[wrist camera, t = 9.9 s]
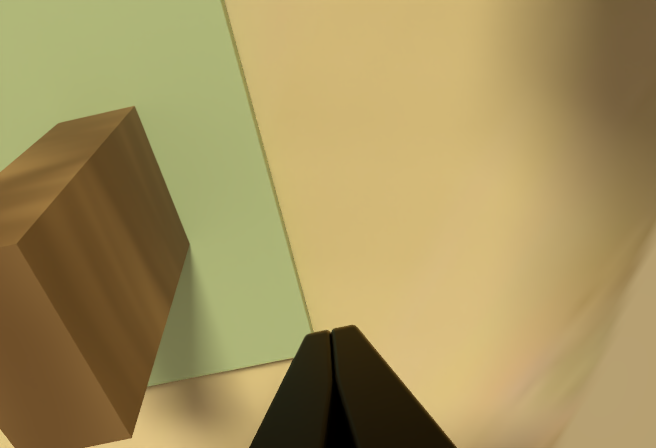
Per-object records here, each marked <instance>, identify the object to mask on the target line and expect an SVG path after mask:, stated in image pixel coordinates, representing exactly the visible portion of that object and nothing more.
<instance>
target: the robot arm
mask: <svg viewBox="0 0 656 448" xmlns="http://www.w3.org/2000/svg"><path fill="white" fill-rule="evenodd" d="M249 448H457V447H456V446H455V445H454V444H453V442H452V441H451V440H450V439H449V438H448V436H447V435H446V434H445V433H444V431H443V430H442V429H441V428H440V427H439V425H438V424H437V423H436V422H435V421H434V419H433V418H432V417H431V416H430V415H429V413H428V412H427V411H426V410H425V408H424V407H423V406H422V405H421V404H420V402H419V401H418V400H417V399H416V398H415V396H414V395H413V394H412V393H411V392H410V390H409V389H408V388H407V387H406V386H405V384H404V383H403V382H402V381H401V379H400V378H399V377H398V376H397V375H396V373H395V372H394V371H393V370H392V369H391V367H390V366H389V365H388V364H387V363H386V361H385V360H384V359H383V358H382V357H381V355H380V354H379V353H378V352H377V350H376V349H375V348H374V347H373V346H372V344H371V343H370V342H369V341H368V340H367V338H366V337H365V336H364V335H363V334H362V332H361V331H360V330H359V329H358V328H357V327H356V326H355V325H349V326H344V327H339V328H334V329H333V330H332V332H330V331H328V330H324V331H319V332H314V333H309V334H307V335H306V336H305V337H304V339H303V341H302V343H301V345H300V347H299V349H298V351H297V353H296V355H295V357H294V359H293V361H292V363H291V365H290V367H289V369H288V371H287V373H286V375H285V377H284V379H283V381H282V383H281V385H280V387H279V389H278V391H277V393H276V395H275V397H274V399H273V401H272V403H271V405H270V407H269V409H268V411H267V413H266V415H265V417H264V419H263V421H262V423H261V425H260V427H259V429H258V431H257V433H256V435H255V437H254V439H253V441H252V443H251V445H250V447H249Z"/></svg>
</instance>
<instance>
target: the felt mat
mask: <svg viewBox="0 0 656 448" xmlns="http://www.w3.org/2000/svg"><path fill="white" fill-rule="evenodd" d="M131 106H135V108H136V110H137V113H138V115H139V118H140V120H141V123H142V125H143V128H144V130H145V133H146V135H147V138H148V140H149V143H150V145H151V148H152V150H153V153H154V155H155V158H156V160H157V163H158V165H159V168H160V170H161V173H162V175H163V178H164V180H165V183H166V185H167V188H168V190H169V193H170V195H171V198H172V200H173V203H174V205H175V208H176V210H177V213H178V215H179V218H180V220H181V223H182V225H183V228H184V230H185V233H186V235H187V238H188V240H189V243H190V245H189V249H188V252H187V255H186V259H185V262H184V265H183V269H182V272H181V275H180V279H179V282H178V285H177V289H176V292H175V295H174V299H173V302H172V305H171V308H170V312H169V315H168V318H167V322H166V325H165V328H164V332H163V335H162V338H161V342H160V345H159V348H158V352H157V355H156V358H155V362H154V365H153V368H152V372H151V375H150V378H149V382H148V385H147V387H148V386H153V385H158V384H163V383H169V382H174V381H179V380H184V379H189V378H194V377H199V376H204V375H209V374H214V373H219V372H224V371H229V370H234V369H239V368H244V367H249V366H255V365H260V364H265V363H270V362H275V361H280V360H285V359H290V358H294V357H295V355H296V353H297V351H298V349H299V347H300V345H301V343H302V341H303V339H304V337H305V336H306V335H307V334H309V333H314V332H313V328H312V324H311V321H310V317H309V313H308V310H307V306H306V302H305V298H304V295H303V291H302V287H301V284H300V280H299V276H298V272H297V269H296V265H295V261H294V258H293V254H292V250H291V246H290V243H289V239H288V235H287V232H286V228H285V224H284V221H283V217H282V213H281V209H280V206H279V202H278V198H277V195H276V191H275V187H274V183H273V180H272V176H271V172H270V169H269V165H268V161H267V157H266V154H265V150H264V146H263V143H262V139H261V135H260V131H259V128H258V124H257V120H256V117H255V113H254V109H253V106H252V102H251V98H250V94H249V91H248V87H247V83H246V80H245V76H244V72H243V68H242V65H241V61H240V57H239V54H238V50H237V46H236V42H235V39H234V35H233V31H232V28H231V24H230V20H229V17H228V13H227V9H226V5H225V2H224V0H0V172H1V171H2V170H3V169H5V168H6V167H7V166H8V165H9V164H10V163H12V162H13V161H14V160H15V159H16V158H18V157H19V156H20V155H21V154H22V153H23V152H25V151H26V150H27V149H28V148H29V147H30V146H32V145H33V144H34V143H35V142H36V141H38V140H39V139H40V138H41V137H42V136H43V135H45V134H46V133H47V132H48V131H49V130H51V129H52V128H53V127H54V126H55V125H56V124H58V123H61V122H65V121H70V120H74V119H78V118H83V117H87V116H91V115H96V114H100V113H105V112H109V111H113V110H118V109H122V108H126V107H131Z"/></svg>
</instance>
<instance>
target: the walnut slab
mask: <svg viewBox="0 0 656 448" xmlns="http://www.w3.org/2000/svg"><path fill="white" fill-rule="evenodd" d="M189 245H190V243H189V240H188V238H187V235H186V233H185V230H184V228H183V225H182V223H181V220H180V218H179V215H178V213H177V210H176V208H175V205H174V203H173V200H172V198H171V195H170V193H169V190H168V188H167V185H166V183H165V180H164V178H163V175H162V173H161V170H160V168H159V165H158V163H157V160H156V158H155V155H154V153H153V150H152V148H151V145H150V143H149V140H148V138H147V135H146V133H145V130H144V128H143V125H142V123H141V120H140V118H139V115H138V113H137V110H136V108H135V106H131V107H126V108H122V109H118V110H113V111H109V112H105V113H100V114H96V115H91V116H87V117H83V118H78V119H74V120H70V121H65V122H61V123H58V124H56V125H55V126H54V127H53V128H52V129H51V130H49V131H48V132H47V133H46V134H45V135H43V136H42V137H41V138H40V139H39V140H38V141H36V142H35V143H34V144H33V145H32V146H30V147H29V148H28V149H27V150H26V151H25V152H23V153H22V154H21V155H20V156H19V157H18V158H16V159H15V160H14V161H13V162H12V163H10V164H9V165H8V166H7V167H6V168H5V169H3V170H2V171H1V172H0V429H1V431H2V432H3V433H4V435H5V436H6V437H7V438H8V440H9V441H10V442H11V444H12V445H13V446H14V447H15V448H85V447H90V446H95V445H100V444H105V443H110V442H114V441H119V440H124V439H129V438H132V435H133V432H134V428H135V425H136V422H137V418H138V415H139V412H140V408H141V405H142V402H143V398H144V395H145V392H146V388H147V385H148V382H149V378H150V375H151V372H152V368H153V365H154V362H155V358H156V355H157V352H158V348H159V345H160V342H161V338H162V335H163V332H164V328H165V325H166V322H167V318H168V315H169V312H170V308H171V305H172V302H173V299H174V295H175V292H176V289H177V285H178V282H179V279H180V275H181V272H182V269H183V265H184V262H185V259H186V255H187V252H188V249H189Z"/></svg>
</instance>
